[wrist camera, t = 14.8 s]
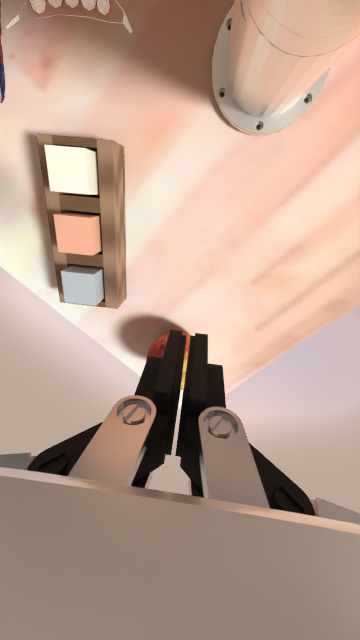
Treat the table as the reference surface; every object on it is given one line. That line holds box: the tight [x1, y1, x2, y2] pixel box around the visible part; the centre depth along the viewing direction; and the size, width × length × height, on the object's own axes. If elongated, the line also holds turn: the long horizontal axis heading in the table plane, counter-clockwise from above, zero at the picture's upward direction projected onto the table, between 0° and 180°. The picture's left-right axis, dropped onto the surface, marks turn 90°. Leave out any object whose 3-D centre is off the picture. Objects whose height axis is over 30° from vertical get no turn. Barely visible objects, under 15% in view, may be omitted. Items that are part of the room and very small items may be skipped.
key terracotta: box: [53, 212, 103, 256], centre depth 34 cm, size 4×4×5 cm
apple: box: [146, 332, 191, 390], centre depth 41 cm, size 9×9×10 cm
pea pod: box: [6, 0, 132, 34], centre depth 28 cm, size 15×4×2 cm, turn 84°
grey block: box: [61, 264, 105, 306], centre depth 37 cm, size 4×4×5 cm
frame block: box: [37, 134, 126, 309], centre depth 36 cm, size 21×9×4 cm, turn 175°
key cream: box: [44, 145, 100, 195], centre depth 31 cm, size 4×4×5 cm
